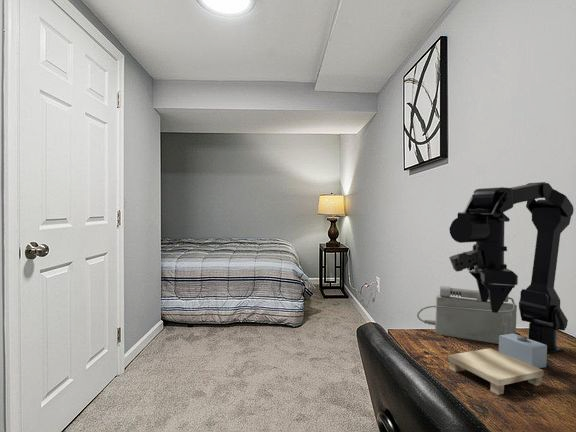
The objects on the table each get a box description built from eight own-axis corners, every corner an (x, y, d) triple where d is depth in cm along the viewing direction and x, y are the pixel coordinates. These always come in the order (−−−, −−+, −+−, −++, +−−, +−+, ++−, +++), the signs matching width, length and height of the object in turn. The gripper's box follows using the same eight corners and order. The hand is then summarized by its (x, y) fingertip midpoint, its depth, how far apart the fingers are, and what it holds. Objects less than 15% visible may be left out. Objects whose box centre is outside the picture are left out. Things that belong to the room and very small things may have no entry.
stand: (489, 360, 81) (489, 348, 81) (543, 384, 70) (543, 370, 70) (448, 368, 76) (448, 355, 76) (498, 395, 65) (498, 380, 65)
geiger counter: (515, 291, 94) (418, 281, 105) (519, 296, 88) (417, 285, 99) (513, 341, 94) (417, 327, 105) (518, 349, 88) (415, 333, 99)
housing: (498, 355, 84) (499, 332, 84) (512, 353, 86) (513, 330, 86) (531, 369, 77) (532, 344, 77) (546, 366, 78) (547, 341, 78)
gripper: (446, 237, 91) (446, 294, 92) (459, 243, 74) (458, 315, 74) (493, 238, 88) (492, 298, 89) (519, 245, 70) (518, 320, 71)
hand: (489, 306), depth 80 cm, fingers open, 9 cm apart
